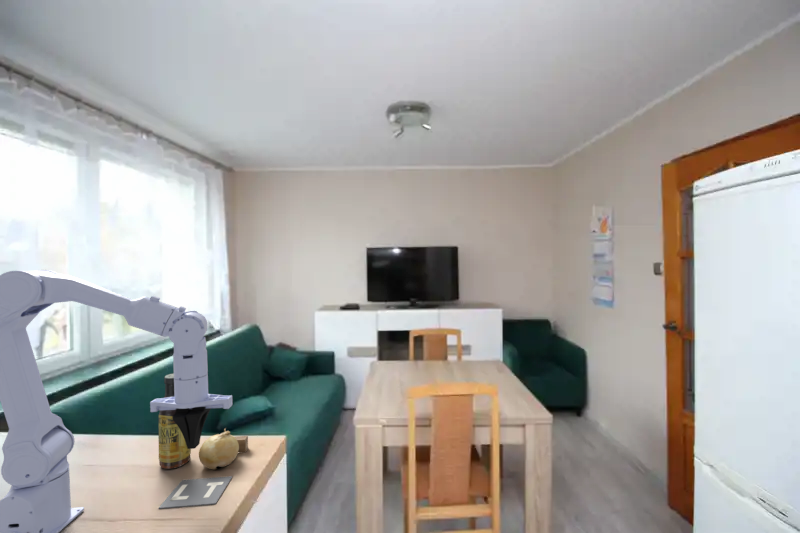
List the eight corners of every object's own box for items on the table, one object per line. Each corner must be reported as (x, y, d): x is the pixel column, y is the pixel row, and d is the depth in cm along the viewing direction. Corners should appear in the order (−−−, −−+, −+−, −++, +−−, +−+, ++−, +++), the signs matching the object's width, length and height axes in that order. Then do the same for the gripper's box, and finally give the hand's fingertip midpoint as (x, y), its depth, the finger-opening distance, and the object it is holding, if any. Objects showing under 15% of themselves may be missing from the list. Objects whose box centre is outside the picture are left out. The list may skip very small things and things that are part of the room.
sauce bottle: (152, 469, 84) (148, 378, 84) (175, 455, 90) (171, 370, 90) (177, 472, 83) (173, 380, 82) (198, 457, 89) (195, 371, 88)
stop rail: (245, 452, 91) (245, 439, 90) (205, 455, 90) (205, 442, 90) (248, 448, 93) (247, 435, 92) (209, 450, 92) (208, 438, 92)
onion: (227, 474, 81) (226, 441, 81) (191, 474, 82) (190, 441, 82) (245, 455, 89) (244, 424, 89) (212, 455, 90) (211, 424, 90)
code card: (215, 504, 71) (215, 502, 71) (158, 508, 70) (158, 507, 70) (232, 477, 80) (232, 475, 80) (182, 480, 79) (182, 479, 79)
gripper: (237, 368, 78) (239, 435, 78) (164, 371, 78) (166, 438, 78) (223, 379, 71) (225, 452, 71) (142, 382, 70) (144, 456, 71)
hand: (193, 446), depth 74 cm, fingers closed
